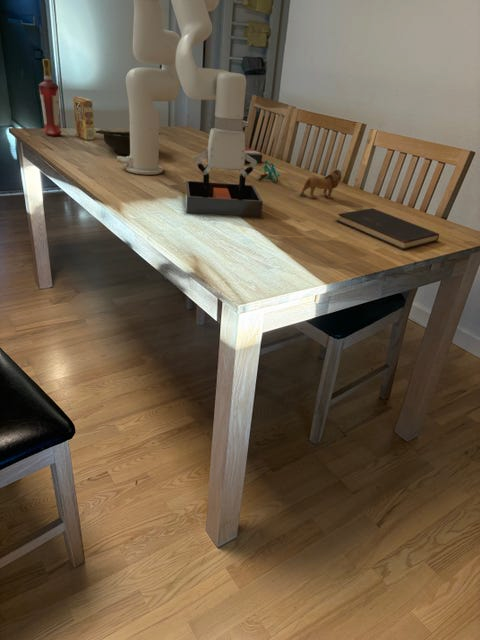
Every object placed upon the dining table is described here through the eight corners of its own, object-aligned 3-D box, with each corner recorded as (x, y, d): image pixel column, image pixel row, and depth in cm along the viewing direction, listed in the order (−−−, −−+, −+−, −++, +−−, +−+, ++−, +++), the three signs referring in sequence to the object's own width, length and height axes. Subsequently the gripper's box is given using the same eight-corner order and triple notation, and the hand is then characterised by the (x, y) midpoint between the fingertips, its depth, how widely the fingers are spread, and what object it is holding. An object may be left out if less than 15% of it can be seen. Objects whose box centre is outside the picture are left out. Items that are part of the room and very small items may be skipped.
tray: (186, 214, 128) (187, 196, 126) (184, 196, 142) (185, 180, 140) (260, 218, 132) (262, 201, 129) (252, 200, 146) (253, 185, 143)
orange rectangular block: (215, 212, 131) (216, 199, 130) (212, 199, 142) (213, 187, 140) (230, 213, 132) (231, 200, 130) (226, 200, 142) (227, 188, 140)
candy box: (95, 139, 200) (93, 100, 192) (85, 140, 197) (83, 100, 190) (84, 135, 205) (82, 96, 197) (75, 135, 202) (72, 96, 195)
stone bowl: (130, 160, 173) (128, 133, 169) (82, 152, 185) (79, 127, 180) (173, 151, 192) (172, 127, 187) (127, 144, 203) (125, 121, 199)
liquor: (46, 132, 202) (38, 58, 188) (64, 134, 203) (58, 60, 189) (41, 135, 195) (33, 59, 181) (60, 137, 197) (53, 61, 182)
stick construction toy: (284, 177, 166) (272, 158, 163) (268, 189, 165) (256, 169, 163) (273, 178, 177) (262, 160, 174) (258, 189, 176) (247, 171, 174)
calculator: (263, 153, 192) (231, 151, 185) (261, 164, 194) (230, 163, 187) (249, 147, 200) (218, 145, 192) (247, 157, 202) (217, 156, 194)
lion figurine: (331, 193, 162) (337, 167, 158) (340, 198, 158) (346, 171, 154) (295, 195, 156) (300, 167, 152) (304, 200, 152) (309, 171, 148)
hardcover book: (402, 250, 121) (405, 241, 120) (336, 221, 136) (338, 213, 135) (437, 241, 130) (440, 233, 129) (371, 215, 145) (373, 207, 144)
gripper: (258, 125, 130) (251, 187, 139) (195, 120, 128) (192, 184, 136) (262, 129, 124) (255, 194, 132) (196, 124, 121) (193, 191, 130)
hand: (223, 189), depth 134 cm, fingers open, 9 cm apart
